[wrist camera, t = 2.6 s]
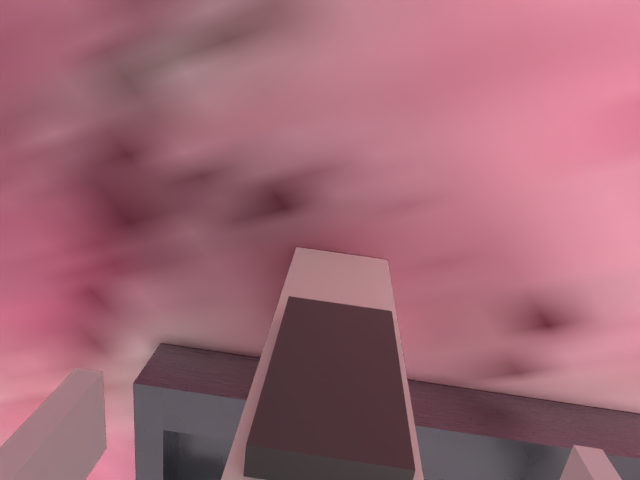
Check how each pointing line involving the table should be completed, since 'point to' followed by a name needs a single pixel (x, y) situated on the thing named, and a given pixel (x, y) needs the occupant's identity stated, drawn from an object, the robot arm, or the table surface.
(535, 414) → the grey and white block
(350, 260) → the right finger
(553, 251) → the table surface
